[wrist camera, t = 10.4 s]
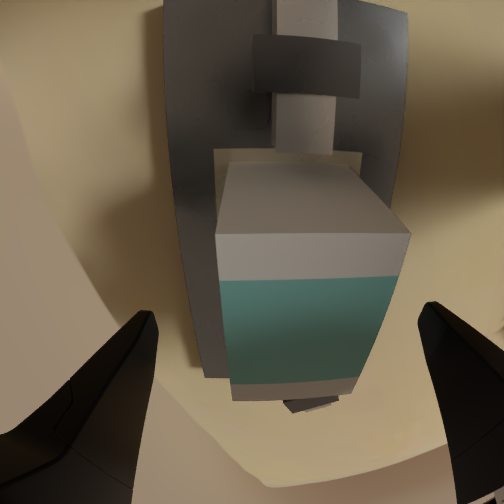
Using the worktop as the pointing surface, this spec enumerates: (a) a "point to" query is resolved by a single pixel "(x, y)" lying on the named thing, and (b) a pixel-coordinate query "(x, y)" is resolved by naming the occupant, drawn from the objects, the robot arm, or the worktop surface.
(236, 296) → the block
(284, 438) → the worktop surface
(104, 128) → the worktop surface
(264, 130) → the shaft stand
